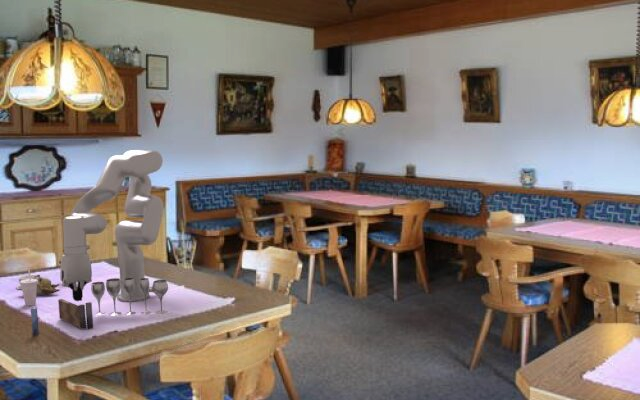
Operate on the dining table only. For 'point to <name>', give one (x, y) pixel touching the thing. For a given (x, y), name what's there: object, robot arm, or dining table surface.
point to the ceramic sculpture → (44, 286)
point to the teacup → (24, 279)
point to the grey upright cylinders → (35, 318)
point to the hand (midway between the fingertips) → (77, 300)
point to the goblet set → (129, 292)
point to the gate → (72, 313)
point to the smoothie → (29, 290)
